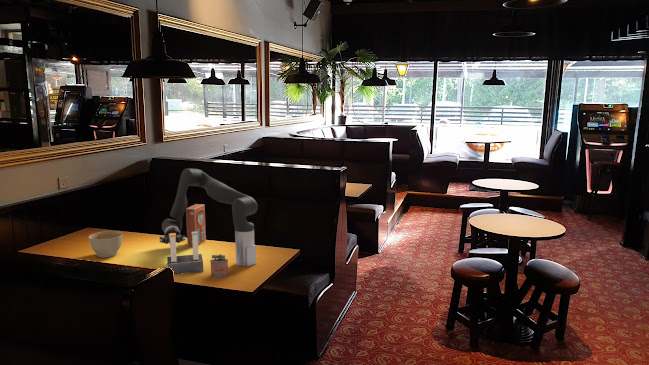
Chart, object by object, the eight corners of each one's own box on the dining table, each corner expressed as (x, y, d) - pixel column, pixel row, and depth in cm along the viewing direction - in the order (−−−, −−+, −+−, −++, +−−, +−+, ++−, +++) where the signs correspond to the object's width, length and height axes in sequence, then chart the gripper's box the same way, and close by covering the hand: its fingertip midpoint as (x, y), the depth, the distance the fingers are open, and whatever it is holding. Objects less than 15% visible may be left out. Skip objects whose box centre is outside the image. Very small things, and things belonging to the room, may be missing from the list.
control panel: (208, 240, 280) (196, 247, 265) (196, 239, 281) (184, 246, 266) (206, 203, 276) (195, 209, 262) (195, 203, 278) (183, 208, 263)
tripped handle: (170, 260, 226) (169, 233, 224) (177, 259, 227) (175, 233, 225) (170, 262, 224) (169, 235, 222) (177, 261, 225) (175, 234, 222)
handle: (192, 258, 229) (191, 231, 227) (198, 257, 230) (197, 231, 228) (193, 260, 227) (191, 233, 225) (199, 259, 228) (197, 232, 226)
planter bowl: (93, 262, 241) (91, 241, 239) (87, 254, 254) (86, 234, 252) (127, 256, 250) (125, 235, 248) (119, 248, 263) (118, 229, 261)
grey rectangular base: (167, 266, 233) (167, 256, 233) (201, 263, 238) (201, 253, 237) (167, 275, 222) (167, 264, 221) (203, 271, 227) (202, 261, 226)
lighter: (229, 274, 223) (228, 253, 222) (227, 276, 220) (227, 255, 218) (211, 274, 223) (210, 253, 221) (210, 277, 220) (209, 256, 218)
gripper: (158, 228, 248) (157, 237, 231) (185, 226, 252) (186, 234, 235) (159, 242, 249) (158, 252, 233) (185, 240, 253) (187, 249, 237)
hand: (172, 243), depth 234 cm, fingers closed
